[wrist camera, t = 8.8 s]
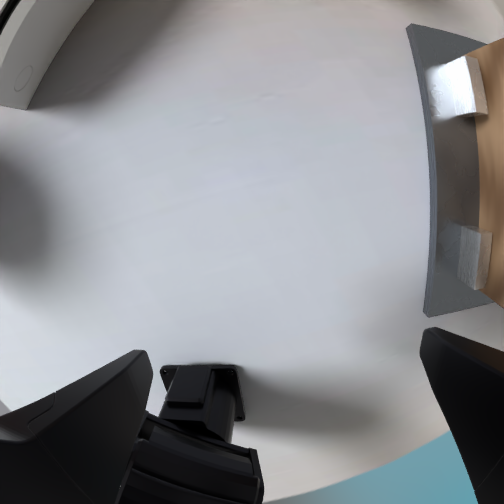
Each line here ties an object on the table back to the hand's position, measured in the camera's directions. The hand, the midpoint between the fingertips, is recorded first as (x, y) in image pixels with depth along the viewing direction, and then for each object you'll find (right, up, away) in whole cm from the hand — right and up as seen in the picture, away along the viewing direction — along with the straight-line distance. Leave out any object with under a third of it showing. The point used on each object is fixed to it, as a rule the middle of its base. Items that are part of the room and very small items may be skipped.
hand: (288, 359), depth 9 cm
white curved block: (-17, +22, +7) cm, 29 cm away
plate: (+17, +9, +9) cm, 21 cm away
